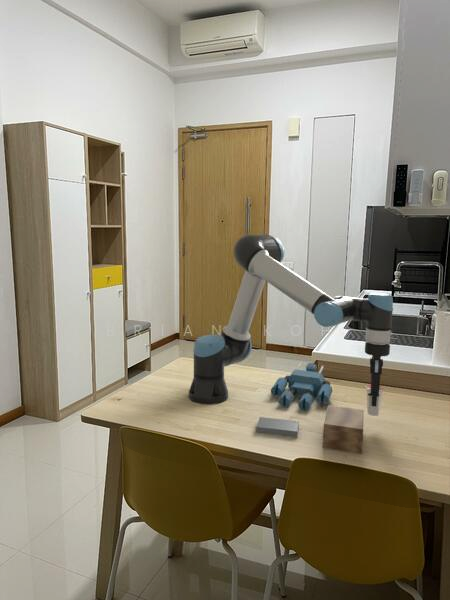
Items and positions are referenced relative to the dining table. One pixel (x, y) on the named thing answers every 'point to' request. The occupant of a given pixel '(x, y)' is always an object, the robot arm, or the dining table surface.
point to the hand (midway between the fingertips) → (373, 411)
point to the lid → (277, 427)
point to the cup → (369, 397)
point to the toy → (303, 387)
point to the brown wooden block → (343, 429)
